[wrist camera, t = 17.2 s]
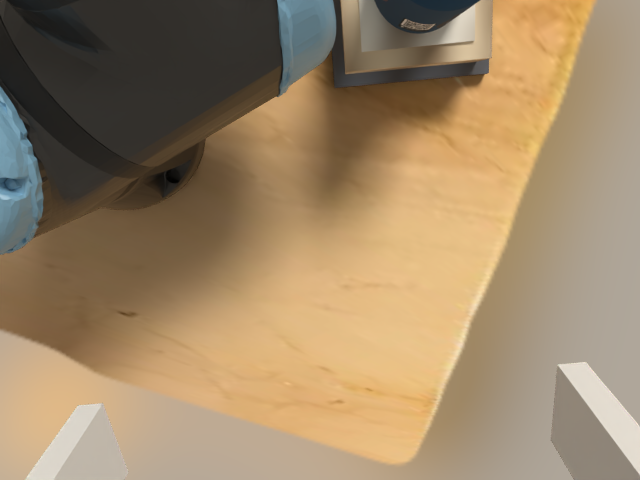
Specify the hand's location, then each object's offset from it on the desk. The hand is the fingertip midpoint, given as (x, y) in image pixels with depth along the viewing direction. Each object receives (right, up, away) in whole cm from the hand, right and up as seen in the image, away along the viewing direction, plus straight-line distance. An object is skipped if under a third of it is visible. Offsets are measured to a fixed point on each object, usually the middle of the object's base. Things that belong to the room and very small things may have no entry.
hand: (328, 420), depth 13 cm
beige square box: (+7, +25, +25) cm, 36 cm away
